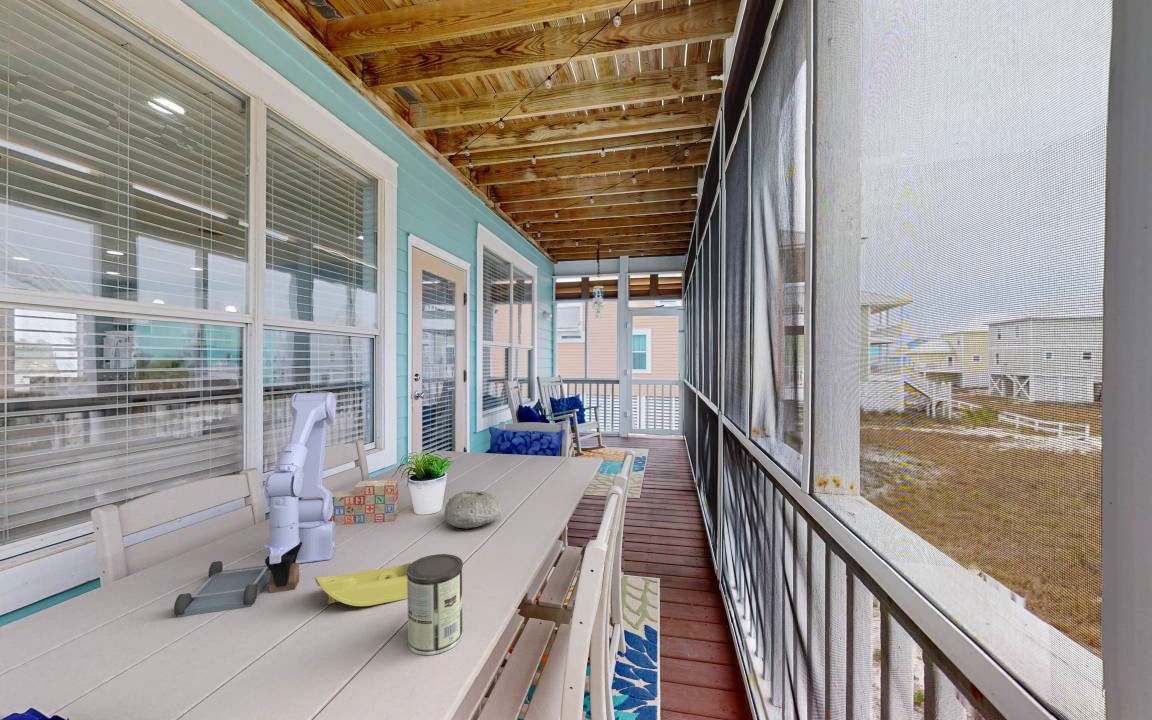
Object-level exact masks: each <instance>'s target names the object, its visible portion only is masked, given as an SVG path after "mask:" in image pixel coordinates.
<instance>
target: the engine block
mask: <svg viewBox="0 0 1152 720" xmlns="http://www.w3.org/2000/svg"><path fill="white" fill-rule="evenodd" d="M299 582H300V563H293V564H291V568H290V573H289V580H288V583H287V585H286V586H281V587H276V585H275V582H274V578H273V575H272V573H271V572H270V573H269V581H268V583H269V594H272V593H273V594H274V593H279V592H286V591H287V592H288V591H294V590H296V589H297V586H298V584H299Z"/></svg>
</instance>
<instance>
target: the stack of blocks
mask: <svg viewBox="0 0 1152 720" xmlns="http://www.w3.org/2000/svg"><path fill="white" fill-rule="evenodd" d="M331 492H332V495H333V497H332V501H333V513H332V516H331V518H330V519H329V520H328V521H334V522H335V526H339V525H341V526H342V525H357V524H372V523H374V524H375V523H378V524H379V523H391V522H392V523H393V522H395V521H396V519H397V517H398V515H399V480H398V479H391V480H389V479H380V480H379V479H378V480H362V481H361V480H360V481H359V482H357V483H356V485H354V490H340V491H339V490H337V491H331Z"/></svg>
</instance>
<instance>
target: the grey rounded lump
mask: <svg viewBox="0 0 1152 720" xmlns="http://www.w3.org/2000/svg"><path fill="white" fill-rule="evenodd" d="M501 513H502V507H501V503H500V501H499V499H498V497H497V496H495V495H494V494H492V493H489V492H488V491H482V490H481V491H473V490H472V491H471V490H467V491H466V490H465V491H463V492H459V493H457V494H456V493H455V494H454V495H453V496H452V497H450V498H449V499H448V501H447V502H446V503H445V508H444V514H443V515H444V518H445V519H444V520H446V523H448V524H449V525H451V526H453V527H456V528H458V529H460V528H462V529H471V528H472V529H473V528H477V527H481V526H484V525H486V524H489V523H492V522H495V521H496V520H497V519H498V518H499V516H500V515H501Z"/></svg>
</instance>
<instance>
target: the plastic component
mask: <svg viewBox="0 0 1152 720" xmlns="http://www.w3.org/2000/svg"><path fill="white" fill-rule="evenodd" d="M413 562H414V561H412V562H408V563H406V564H402V565H397V566H396V565H395V566H389V567H384V568H382V567H381V568H376V569H370V570H369V569H368V570H365V571H363V570H362V571H357V572H350V573H343V574H337V575H331V576H323V577H320V576H315V577H314V581H315V583H316V585H317V586H318V587H321V589H322V590H323V591H324V592H325V593H326V594H327V595H328V604H334V603H338V602H340V603H342V604H345V605H349V606H354V607H369V606H375V605H381V604H384V603H391V602H395V601H401V600H405V599H408V590H407V568H408V566H409V565H410V564H411V563H413Z"/></svg>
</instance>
